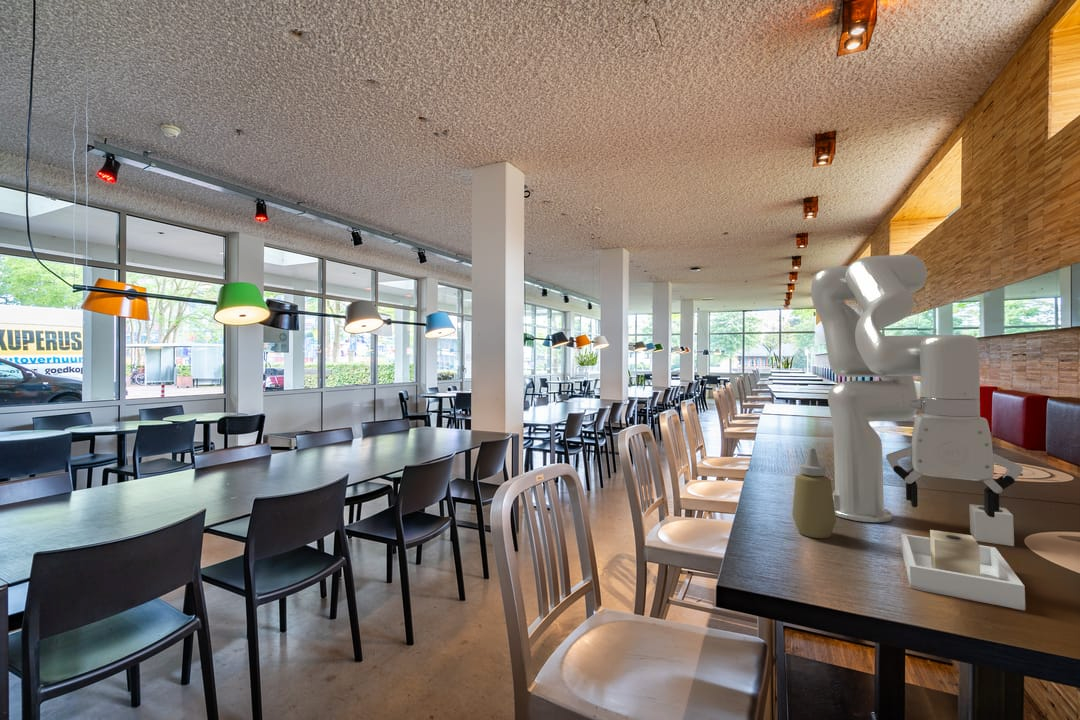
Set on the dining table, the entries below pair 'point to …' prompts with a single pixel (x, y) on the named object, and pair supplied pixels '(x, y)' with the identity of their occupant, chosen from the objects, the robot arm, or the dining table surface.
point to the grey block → (991, 526)
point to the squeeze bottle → (813, 499)
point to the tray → (963, 576)
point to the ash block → (955, 552)
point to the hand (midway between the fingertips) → (950, 509)
